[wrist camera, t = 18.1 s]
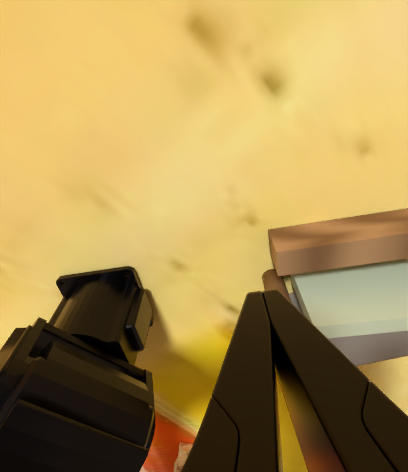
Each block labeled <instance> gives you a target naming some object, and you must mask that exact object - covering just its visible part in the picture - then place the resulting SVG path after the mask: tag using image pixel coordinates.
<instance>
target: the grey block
mask: <svg viewBox="0 0 408 472" xmlns="http://www.w3.org/2000/svg"><path fill="white" fill-rule="evenodd" d="M289 296H290V299H291V302H292V304H293V305H294V306H295V307H296V308H297V309H298V310H299V311H300V312H301V313H302V314H303V311H302V309H301V306H300V303H299V301H298V298H297V295H296V293H295V292H294V293H290V294H289ZM303 315H304V314H303ZM328 339H329V340H330V341H331V342H332V343H333V344H334V345H335V346H336V347H337V348H338V349H339V350H340V351H341V352H342V353H343V354H344V355H345V356H346V357H347V358H348V359H349V360H350V361H351V362H352V363H353V364H354V365H355V366H359V365H364V364H369V363H374V362H379V361H384V360H389V359H394V358H399V357H404V356H408V331H398V332H388V333H378V334H368V335H357V336H347V337H337V338H328Z"/></svg>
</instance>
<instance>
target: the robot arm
mask: <svg viewBox="0 0 408 472" xmlns="http://www.w3.org/2000/svg"><path fill="white" fill-rule="evenodd" d="M126 272H130V273H131V274H128V273H126ZM62 281H63V282H65V283H63V282H62ZM56 284H57V286H58V288H59V290H60V292H61V294H62V295H63V299H62V301H61V302H60V304H59V306H58V308H57V309H56V311H55V313H54V314H53V316H52V318H51V319H50V321H49V323H46V322H47V321H46V320H44V319H42V318H40V317H39V318H38V319H37V320H36V322H35V323H34V324H33V325H32V326H30V325H29V326H28V327H27V328H16V329H15V330H14V331H13V333H12V334H11V336H10V337H9V338H8V340H7V341H6V343H5V344H4V346H3V347H2V348H1V350H0V472H139V471H140V469H141V467H142V465H143V463H144V462H145V460H146V458H147V455H148V452H149V449H150V446H151V443H152V440H153V436H154V430H155V409H154V395H153V382H152V373H151V372H149V371H147V370H142V369H140V368H138V367H136V366H135V361H136V357H137V353H138V351H143V349H144V348H145V344H146V339H147V335H148V330H149V327H151V326H152V324H153V317H152V308H151V305H150V302H149V300H148V297H147V294H146V292H145V290H144V289H143V288H141V285H140V283H139V280H138V277H137V275H136V272H135V270H134V268H132V267H130V266H126V267H119V268H112V269H105V270H99V271H92V272H85V273H78V274H72V275H65V276H60V277H59V278H58V279H57V281H56ZM275 369H276V372H275ZM276 373H277V376H278V379H279V383H280V386H281V389H282V392H283V395H284V398H285V401H286V404H287V407H288V410H289V413H290V417H291V420H292V423H293V426H294V429H295V432H296V435H297V438H298V441H299V444H300V447H301V451H302V454H303V457H304V460H305V463H306V466H307V469H308V472H408V416H407V415H406V414H405V413H404V412H403V411H402V410H401V409H400V408H399V407H398V406H396V405H395V404H394V403H393V402H392V401H391V400H390V399H389V398H388V397H387V396H386V395H385V394H384V393H383V392H382V391H381V390H380V389H379V388H378V387H377V386H376V385H375V384H374V383H373V382H369V379H368V378H367V377H366V376H365V375H364V374H363V373H362V372H361V371H360V370H359V369H358V368H357V367H356V366H355V365H354V364H353V363H352V362H351V361H350V360H349V359H348V358H347V357H346V356H345V355H344V354H343V353H342V352H341V351H340V350H339V349H338V348H337V347H336V346H335V345H334V344H333V343H332V342H331V341H330V340H329V339H328V338H327V337H326V336H325V335H324V334H323V333H322V332H321V331H320V330H319V329H317V328H316V327H315V326H314V325H313V324H312V323H311V322H310V321H309V320H308V319H307V318H306V317H305V316H304V315H303V314H302V313H301V312H300V311H299V310H298V309H297V308H296V307H295V306H294V305H293V304H292V303H291V302H290V301H289V300H288V299H287V298H286V297H285V296H284V295H283V294H282V293H281V292H280V291H279V290H277V289H272V290H265V291H263V293H262V292H261V291H257V292H249V293H248V294H247V295H246V298H245V301H244V304H243V307H242V310H241V312H240V315H239V318H238V321H237V324H236V327H235V330H234V333H233V336H232V338H231V341H230V344H229V347H228V350H227V353H226V356H225V359H224V362H223V364H222V367H221V370H220V373H219V376H218V379H217V382H216V385H215V388H214V390H213V393H212V398H211V399H210V402H209V404H208V407H207V410H206V413H205V416H204V418H203V421H202V424H201V426H200V429H199V431H198V434H197V437H196V439H195V441H194V443H193V446H192V448H191V450H190V452H189V454H188V457H187V459H186V461H185V463H184V465H183V467H182V469H181V472H283V465H282V451H281V438H280V424H279V410H278V396H277V383H276Z"/></svg>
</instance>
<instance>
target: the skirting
mask: <svg viewBox="0 0 408 472" xmlns="http://www.w3.org/2000/svg"><path fill="white" fill-rule="evenodd" d="M268 234H269V246H270V253H271V256H272V260H273V263H274V266H275V269H276V272H277V275H278V276H284V275H291V274H298V273H305V272H313V271H320V270H327V269H335V268H342V267H349V266H357V265H364V264H371V263H378V262H386V261H393V260H400V259H408V208H407V209H401V210H394V211H388V212H381V213H375V214H368V215H361V216H355V217H348V218H342V219H335V220H329V221H322V222H316V223H309V224H302V225H296V226H289V227H283V228H276V229H270V230H268Z"/></svg>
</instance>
